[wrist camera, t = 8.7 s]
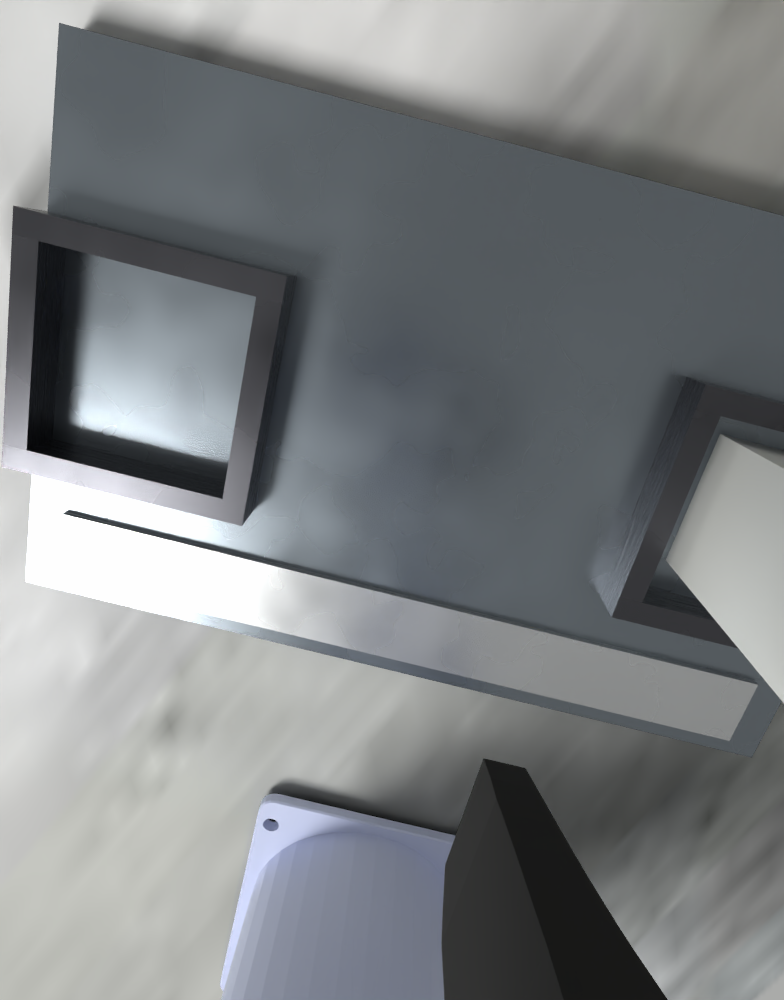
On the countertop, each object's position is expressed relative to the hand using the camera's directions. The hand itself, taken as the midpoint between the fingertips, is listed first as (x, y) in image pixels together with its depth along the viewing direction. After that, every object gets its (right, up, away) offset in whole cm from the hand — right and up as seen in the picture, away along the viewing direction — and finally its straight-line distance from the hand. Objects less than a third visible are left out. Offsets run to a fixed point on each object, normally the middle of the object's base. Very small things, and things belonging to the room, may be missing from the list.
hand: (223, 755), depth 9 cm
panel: (+4, +5, +8) cm, 11 cm away
